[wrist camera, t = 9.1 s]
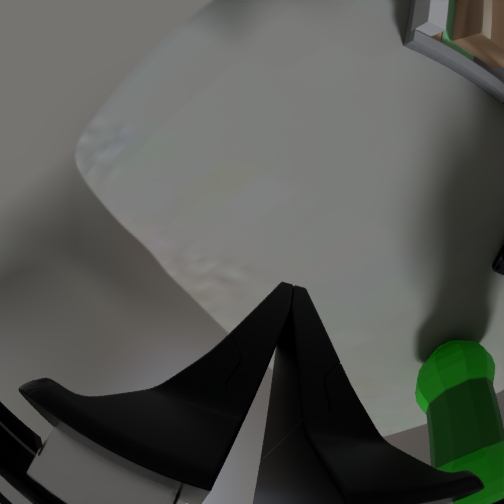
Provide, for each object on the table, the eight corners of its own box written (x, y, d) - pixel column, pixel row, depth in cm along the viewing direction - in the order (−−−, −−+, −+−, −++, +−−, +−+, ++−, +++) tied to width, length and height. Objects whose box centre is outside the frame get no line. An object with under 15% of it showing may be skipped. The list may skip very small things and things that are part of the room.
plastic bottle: (392, 374, 28) (386, 577, 7) (447, 313, 22) (482, 568, 1) (447, 383, 27) (457, 553, 7) (499, 331, 22) (540, 525, 1)
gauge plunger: (496, -4, 6) (526, -14, 2) (492, 67, 10) (526, 68, 6) (456, -30, 6) (481, -48, 3) (451, 41, 10) (482, 32, 6)
